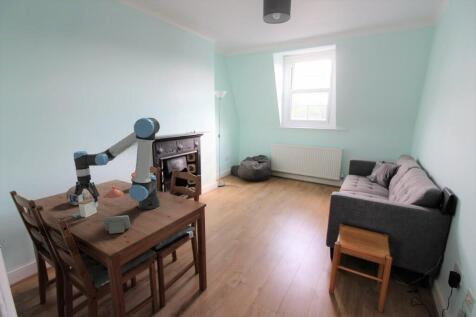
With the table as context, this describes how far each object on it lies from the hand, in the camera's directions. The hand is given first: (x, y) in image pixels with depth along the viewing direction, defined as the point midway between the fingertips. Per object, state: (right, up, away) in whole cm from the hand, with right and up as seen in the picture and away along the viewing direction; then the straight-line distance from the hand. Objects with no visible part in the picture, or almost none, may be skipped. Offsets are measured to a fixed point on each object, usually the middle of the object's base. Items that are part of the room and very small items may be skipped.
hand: (88, 205), depth 156 cm
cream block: (-1, -7, +1) cm, 7 cm away
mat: (-11, -6, +5) cm, 13 cm away
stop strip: (-5, -6, +3) cm, 8 cm away
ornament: (-19, -3, +19) cm, 27 cm away
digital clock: (+30, -11, -20) cm, 37 cm away
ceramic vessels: (+3, +1, +41) cm, 41 cm away
